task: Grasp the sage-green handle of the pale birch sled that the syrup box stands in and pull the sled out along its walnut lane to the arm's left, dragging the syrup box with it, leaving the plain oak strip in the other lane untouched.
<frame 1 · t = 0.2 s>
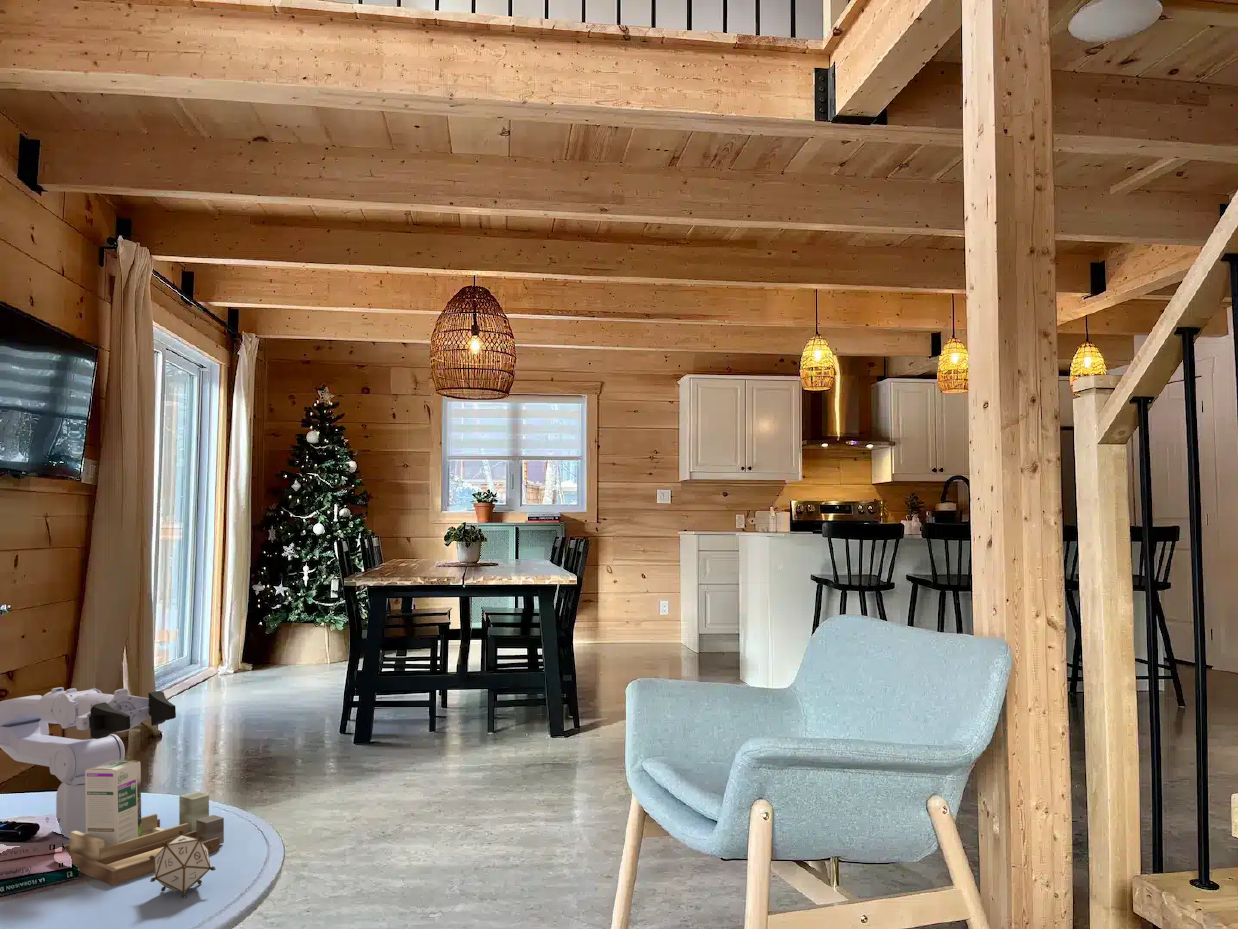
hand: (151, 717, 154), 21 cm above the table, tool horizontal, fingers open, 7 cm apart
game die: (182, 893, 135), on the table
syrup box: (113, 857, 150), resting in sled
plain strip: (168, 844, 149), point 2 cm above the table, slide at 0.0 cm
lane board: (140, 855, 150), on the table
sled: (146, 826, 155), point 3 cm above the table, slide at 0.0 cm
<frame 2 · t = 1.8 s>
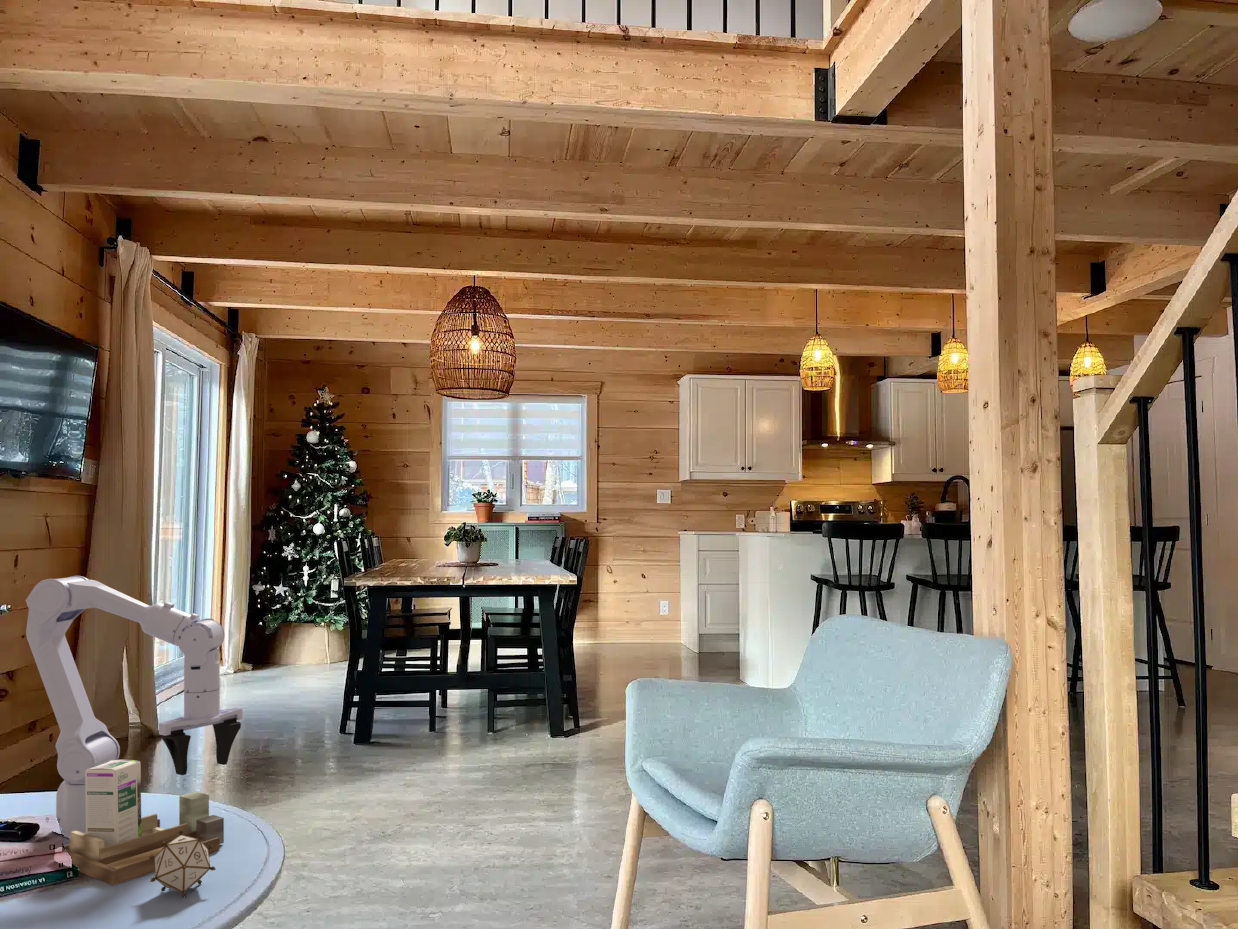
hand: (202, 769, 165), 10 cm above the table, tool pointing down, fingers open, 7 cm apart
nothing on the table moved.
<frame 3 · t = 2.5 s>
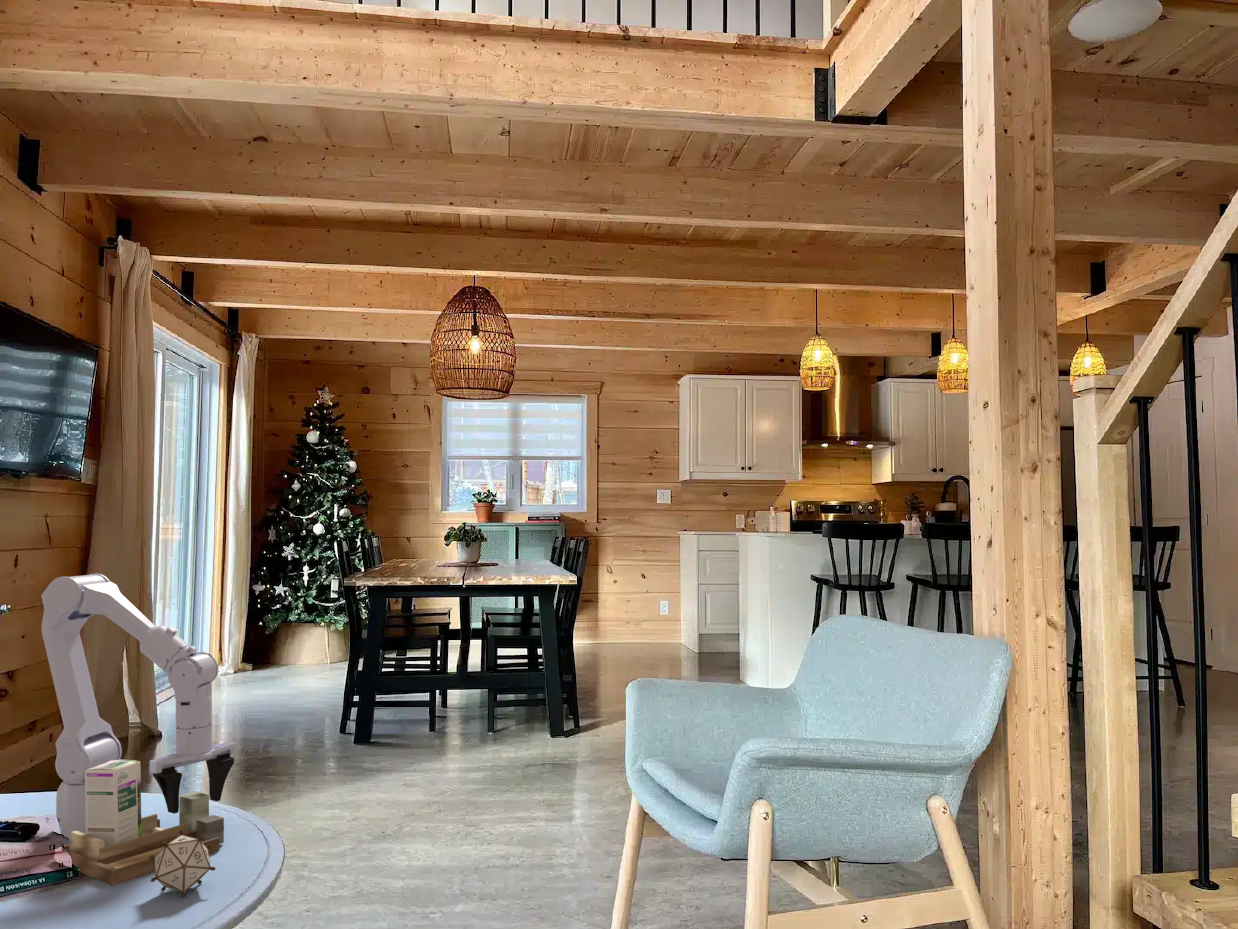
hand: (194, 806, 162), 4 cm above the table, tool pointing down, fingers open, 7 cm apart
nothing on the table moved.
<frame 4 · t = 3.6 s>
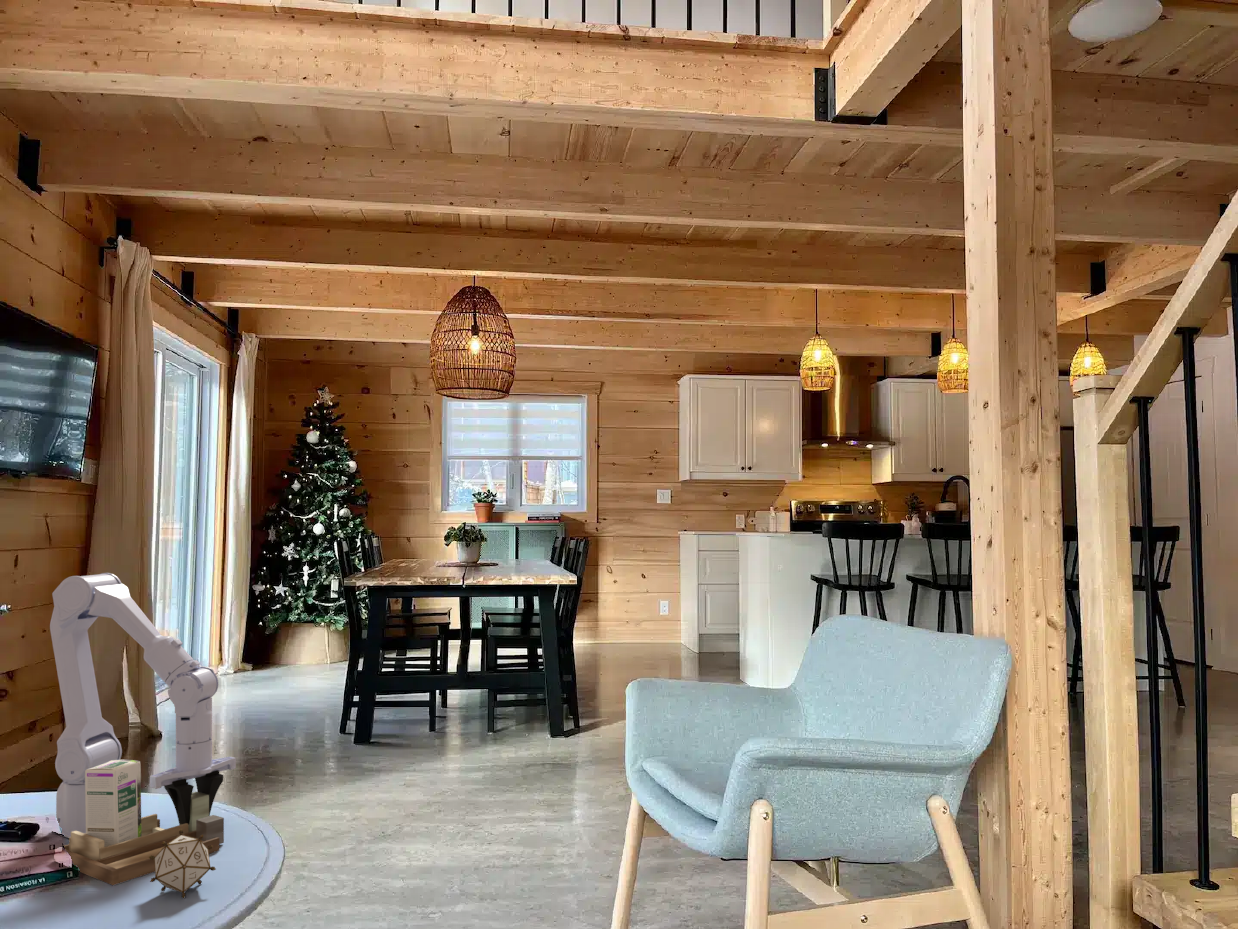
hand: (194, 821, 161), 2 cm above the table, tool pointing down, fingers closed on sled, 3 cm apart
sled: (146, 826, 155), point 3 cm above the table, slide at 0.0 cm, touching gripper
everything else where it was.
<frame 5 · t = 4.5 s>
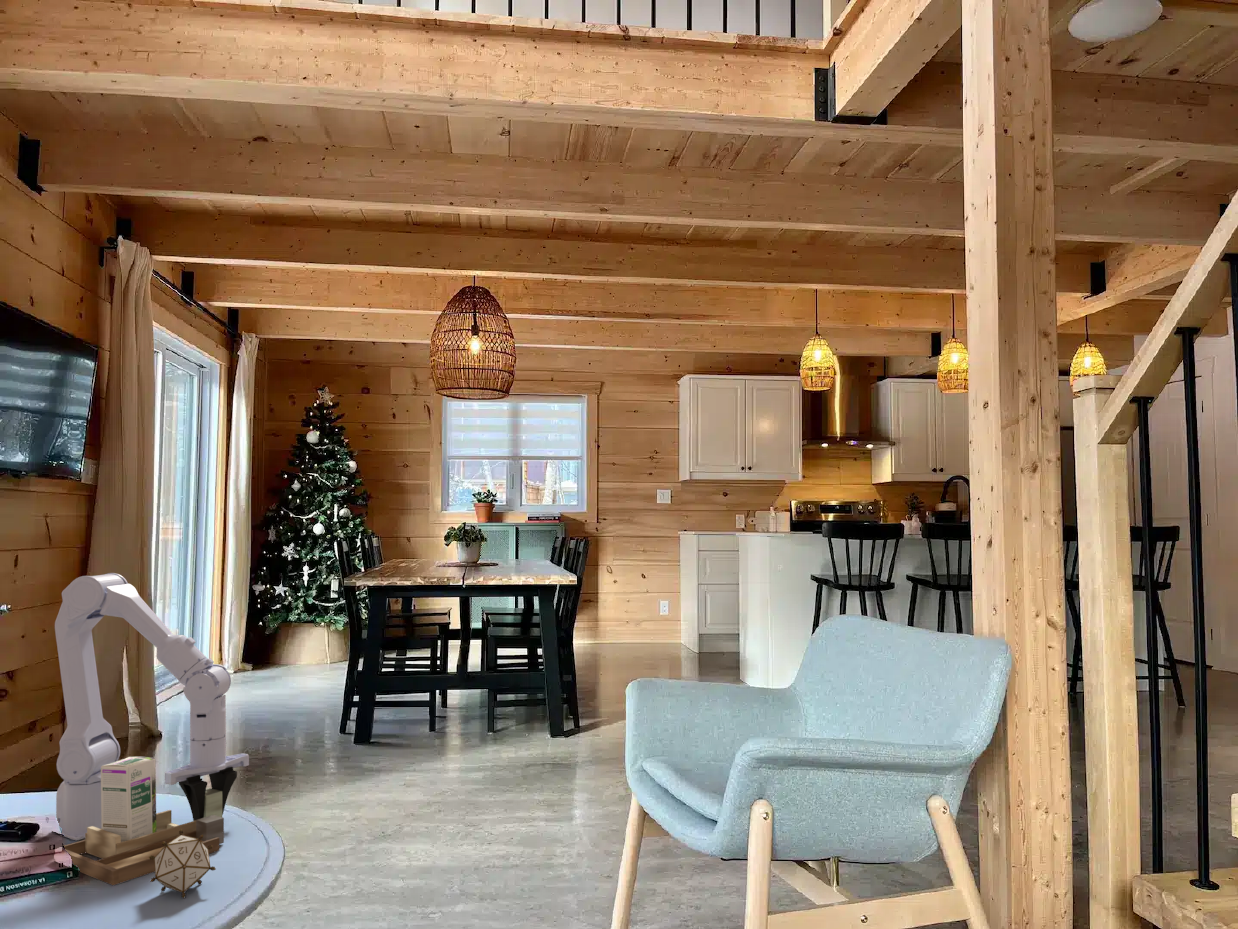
hand: (208, 817, 164), 2 cm above the table, tool pointing down, fingers open, 3 cm apart
syrup box: (128, 853, 152), resting in sled
sled: (161, 822, 157), point 3 cm above the table, slide at 2.5 cm, touching gripper
everything else where it was.
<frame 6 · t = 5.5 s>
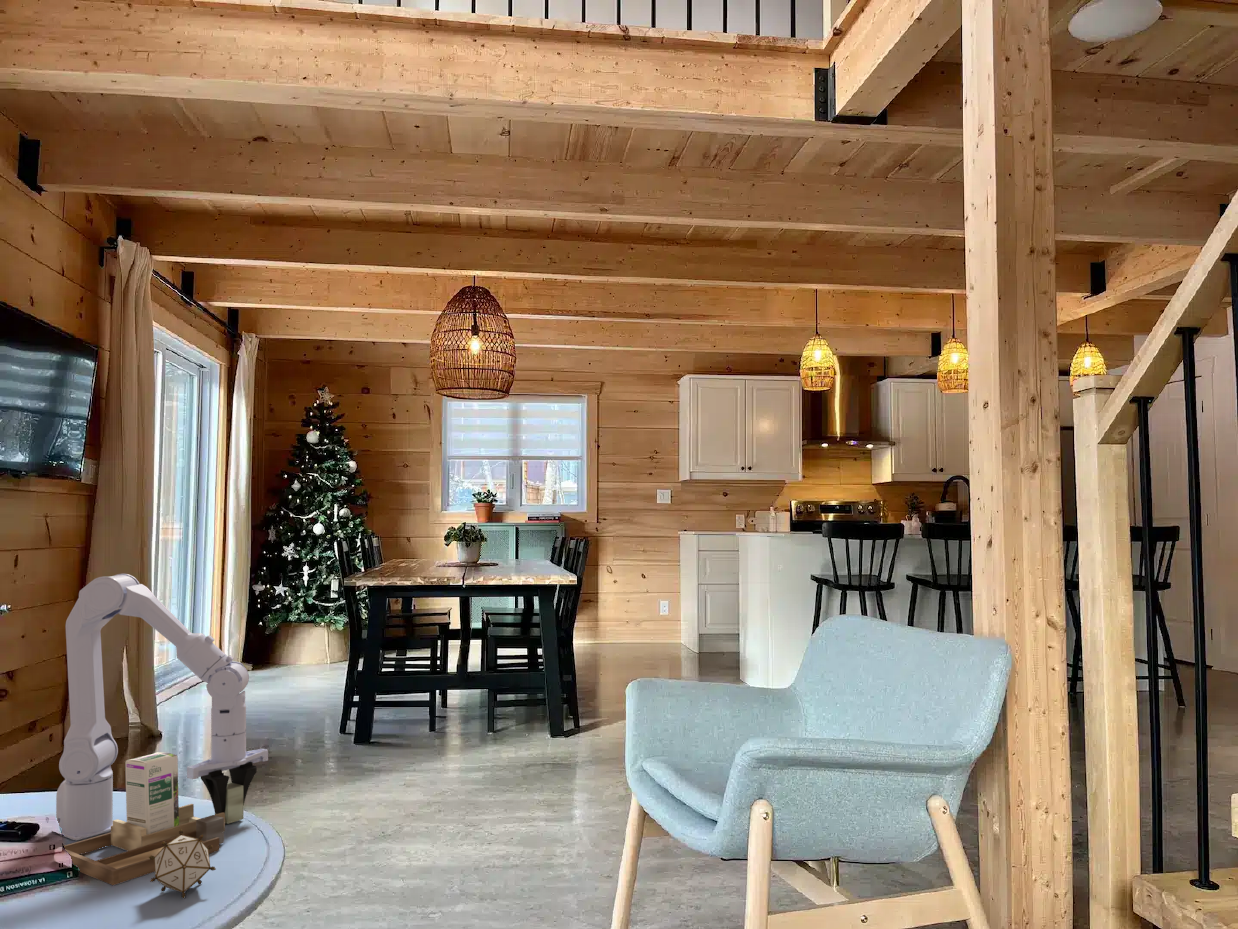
hand: (228, 811, 167), 2 cm above the table, tool pointing down, fingers closed on sled, 3 cm apart
syrup box: (152, 847, 155), resting in sled
sled: (184, 815, 160), point 3 cm above the table, slide at 6.5 cm, touching gripper
everything else where it was.
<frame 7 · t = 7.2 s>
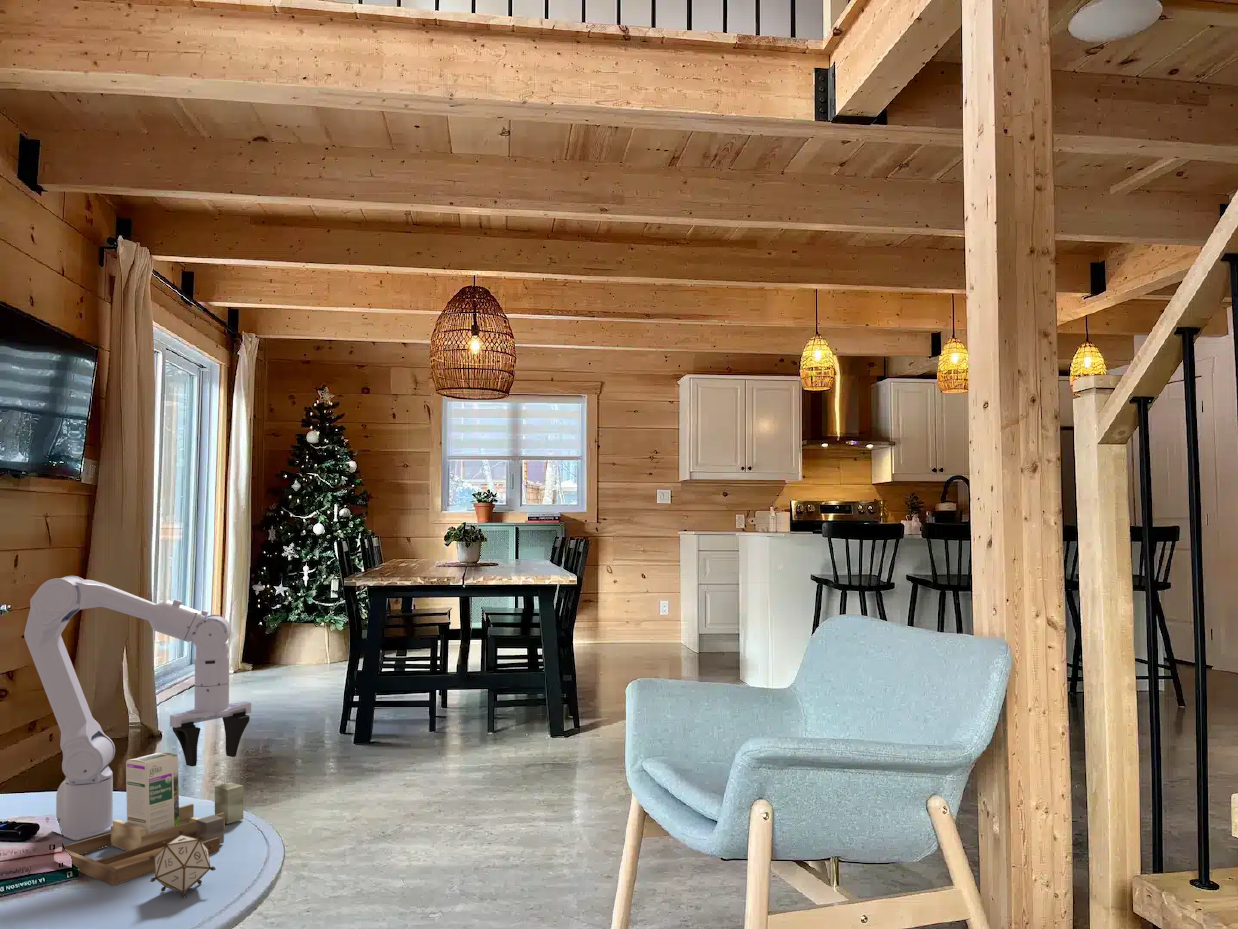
hand: (211, 760, 169), 10 cm above the table, tool pointing down, fingers open, 7 cm apart
sled: (184, 815, 160), point 3 cm above the table, slide at 6.5 cm
everything else where it was.
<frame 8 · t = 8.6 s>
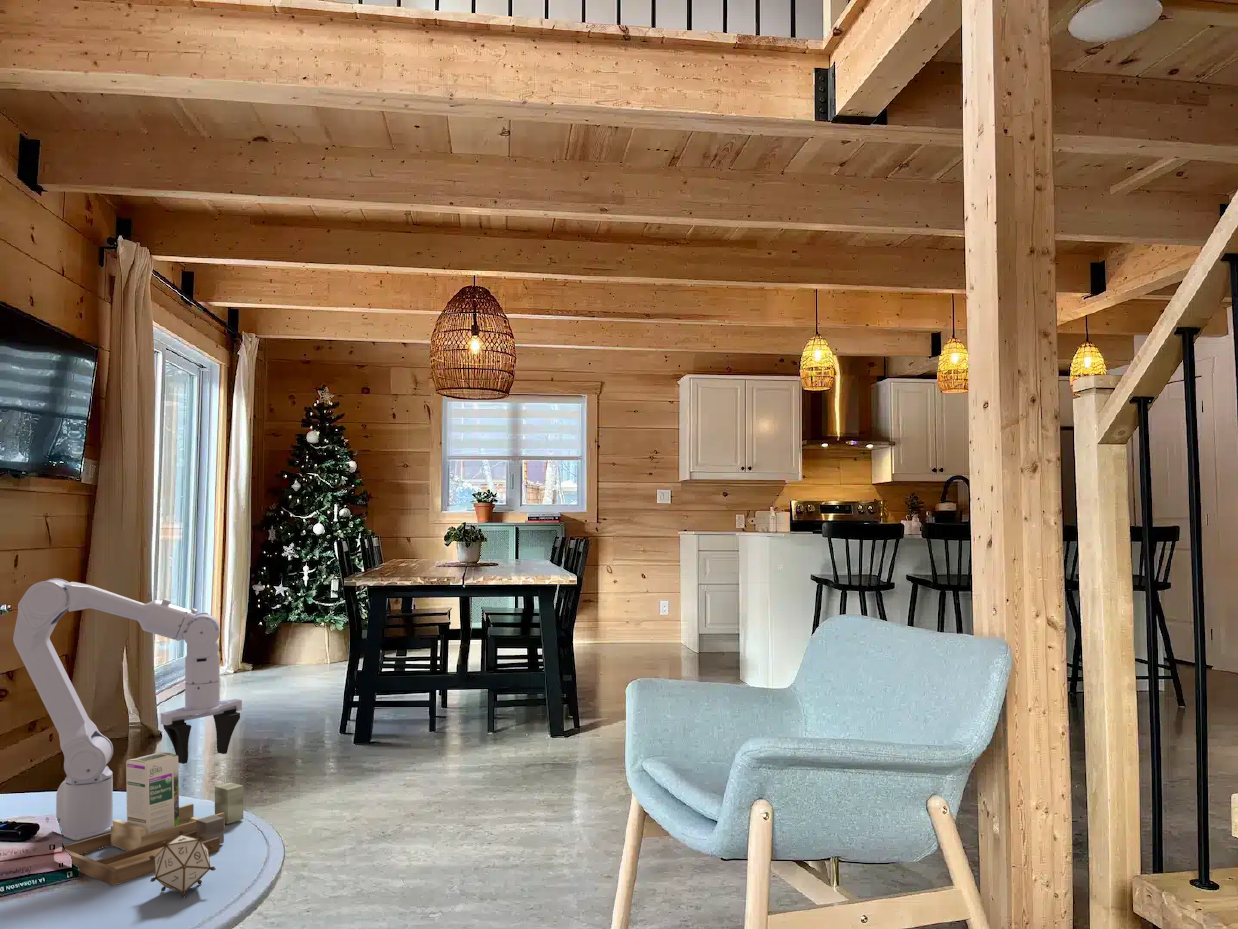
hand: (202, 758, 170), 10 cm above the table, tool pointing down, fingers open, 7 cm apart
nothing on the table moved.
at the end: sled slide at 6.5 cm; syrup box inside the target area (1.2 cm from its centre), resting in sled; syrup box tilted 0° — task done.
